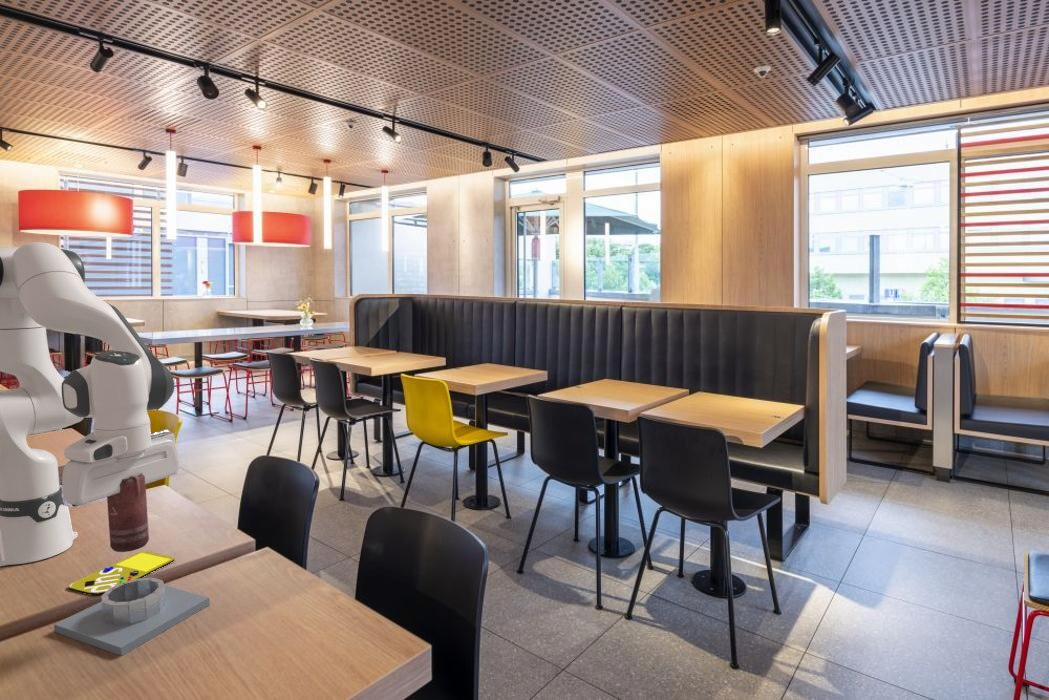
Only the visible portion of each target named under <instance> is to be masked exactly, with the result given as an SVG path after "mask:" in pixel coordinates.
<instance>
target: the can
mask: <svg viewBox="0 0 1049 700" xmlns="http://www.w3.org/2000/svg"><path fill="white" fill-rule="evenodd" d="M146 485H147V484H145V476H144V475H143V474H140V475H138V476H130V478H127V479H122V481H121V483H120V492H119V493H117V494H114V495H111V496H108V497H106V502H107V516H108V517H107V518H108V529H109V545H110V548H111V550H113V551H114V552H116V553H127V552H133V551H136V550H139V549H141V548H143V547H146V545H148V542H149V540H150V536H149V518H148V503H147V501H148V500H147V488H146V487H147V486H146Z"/></svg>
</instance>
